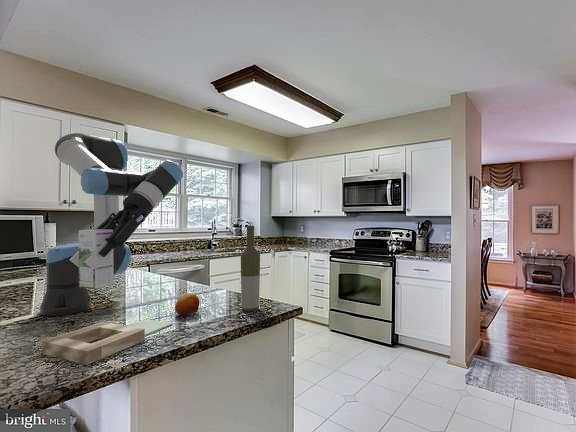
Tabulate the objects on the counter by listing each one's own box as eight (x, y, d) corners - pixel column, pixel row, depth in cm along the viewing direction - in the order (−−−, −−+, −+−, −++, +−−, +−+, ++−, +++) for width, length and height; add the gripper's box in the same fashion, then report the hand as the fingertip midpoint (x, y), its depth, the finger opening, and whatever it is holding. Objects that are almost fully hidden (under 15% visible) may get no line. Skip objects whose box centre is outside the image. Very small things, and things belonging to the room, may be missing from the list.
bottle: (242, 307, 120) (242, 225, 121) (261, 307, 120) (261, 225, 121) (238, 312, 113) (238, 225, 114) (258, 312, 113) (259, 225, 114)
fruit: (197, 314, 106) (186, 292, 107) (178, 325, 108) (167, 304, 109) (208, 307, 114) (197, 287, 115) (190, 318, 116) (180, 298, 117)
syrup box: (114, 284, 85) (114, 229, 85) (94, 289, 79) (94, 229, 80) (98, 283, 87) (98, 228, 87) (77, 287, 81) (77, 229, 81)
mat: (115, 331, 94) (115, 329, 94) (145, 320, 104) (145, 319, 104) (143, 336, 90) (143, 334, 90) (172, 324, 100) (172, 323, 100)
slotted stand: (41, 353, 79) (42, 340, 79) (102, 332, 93) (102, 321, 93) (86, 365, 72) (87, 351, 72) (144, 340, 87) (144, 329, 87)
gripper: (172, 210, 91) (114, 277, 77) (131, 210, 102) (74, 270, 88) (155, 189, 86) (90, 257, 73) (114, 192, 97) (51, 252, 83)
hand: (81, 264), depth 80 cm, fingers closed on syrup box, 7 cm apart
